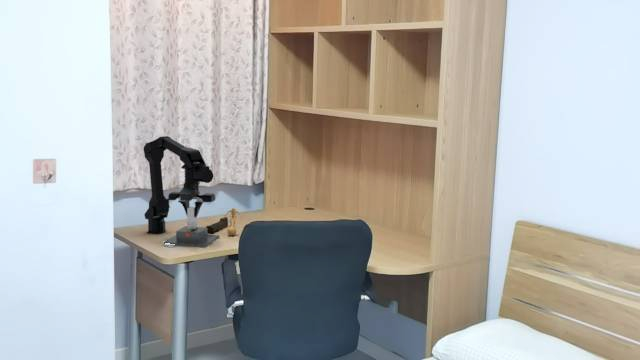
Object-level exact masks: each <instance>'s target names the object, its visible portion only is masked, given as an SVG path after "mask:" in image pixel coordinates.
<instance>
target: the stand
mask: <svg viewBox="0 0 640 360" xmlns="http://www.w3.org/2000/svg"><path fill="white" fill-rule="evenodd" d="M175 234H176V235H173V236H172V237H170V238H169V239H167V240H165V241H163V245H164V244H165V243H170V244H175V245H174V246H176V245H177V247H179V246H180V247H181V246H182V247H193V248H194V247H195V248H196V247H197V248H206V247H208V246H210V245H211V244H213V243H214V242H215V241H217V240H218V239H219V238H220V234H219V235H218V234H208V233H207V228H206V226H204V227H203V226H202V227H201V226H197V229H195V230H192V229H187V225H186V226H185V225H184V226H183V227H181V228H180V229H178V230H176V231H175Z"/></svg>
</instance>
